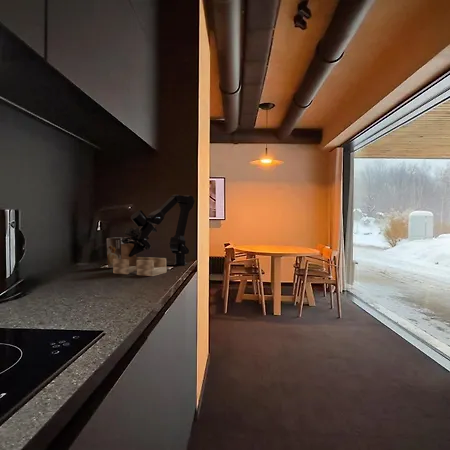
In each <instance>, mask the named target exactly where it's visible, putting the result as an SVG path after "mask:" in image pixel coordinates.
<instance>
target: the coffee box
mask: <svg viewBox="0 0 450 450" xmlns="http://www.w3.org/2000/svg"><path fill="white" fill-rule="evenodd" d="M122 238H123V237H122V236H121V237H107V238H106V255H107V256H106V257H107V259H106V260H107V268H108V267H109V268H111V269H113V259H121V244H124V243H123V242H122V241H121V240H122Z"/></svg>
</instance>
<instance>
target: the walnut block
mask: <svg viewBox="0 0 450 450" xmlns="http://www.w3.org/2000/svg"><path fill="white" fill-rule="evenodd" d="M133 247H134V244H130V243H129V244H121V259H129V267H132V266H136V257H137V254H135V255H133V256H132V257H129V254H130V252H131V251H132V249H133Z"/></svg>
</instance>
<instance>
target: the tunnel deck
mask: <svg viewBox="0 0 450 450" xmlns="http://www.w3.org/2000/svg"><path fill="white" fill-rule="evenodd" d="M167 270H168V269H167V257H148V256H147V257H146V256H145V257H144V256H136V266H132V267H129V259H113V268H112V271H113V274H118V275H136V276H144V277H145V276H146V277H147V276H148V277H154V276H158V275H162V274H166V273H167Z"/></svg>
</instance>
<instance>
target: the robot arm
mask: <svg viewBox="0 0 450 450" xmlns="http://www.w3.org/2000/svg"><path fill="white" fill-rule="evenodd" d="M194 198H195V197H194V196H192V195H181V194H180V195H179V194H172V195H171V196H170V198H168V200H166V201H165V202H164V203H163V204H162V205H161V206H160V207H159V208H158V209H156V210H154V211H151V213H149V214H148V215H146V214H145V213H144V212H143V210H142V209H138V210H137V211H136V212H134V213H132V215H130V220H132V222H133V223H134V225H136V227H133V228H132V227H126V229H125V231H124V234H125V235H126V236H129V237H126V236H125V237H124V236H123V237H121V238H122V240H121V241H122V242H123V243H124V244H129V243H130V244H134V247H133V249H132V251H131V252H130V254H129V257H132V256H133V255H135V254H136V255H137V254H139V253H141V252H143V251H145V250H147V251H150V250H151V248H152V244H151V243H150V241H149V239H150V238H149V236H150V235H151V233H156V232H158V229H157V226H155V225H161V224H162V222H163V221H164V220H165V216H166V215H167V214H168V213H169V211H171V210H172V209H173V208H174V207H175V206H176V205H177V204H178V205H179V210H180V211H179V216H178V220H177V225H176V229H175V233H174V236H170V241H169V243H168V244H169V248H170V250H171V253H172V254H175V255H174V259H175V261H174V263H173V265H174V266H186V265H187V264H188V262H186V255H188V254H190V253H189V251H190V249H189V247H187V245H186V238H185V234H186V229H187V225H188V224H187V223H188V219H189V214H190V211H192V209H193V207H194V205H195V199H194ZM139 227H140V228H139Z"/></svg>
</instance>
